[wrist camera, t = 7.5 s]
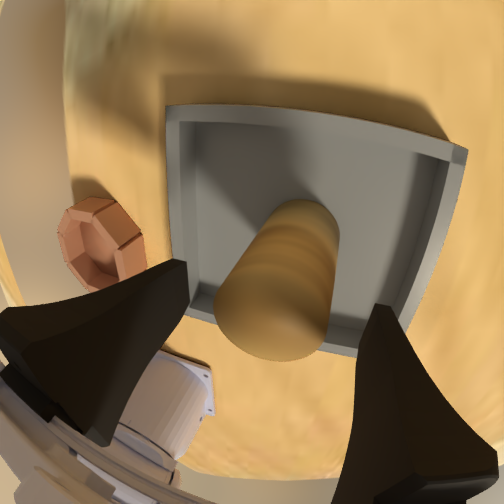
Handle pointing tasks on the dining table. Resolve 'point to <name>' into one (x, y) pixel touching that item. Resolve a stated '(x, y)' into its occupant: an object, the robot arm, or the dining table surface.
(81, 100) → the dining table surface
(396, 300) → the tray
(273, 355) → the peg
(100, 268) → the cup
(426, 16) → the dining table surface
